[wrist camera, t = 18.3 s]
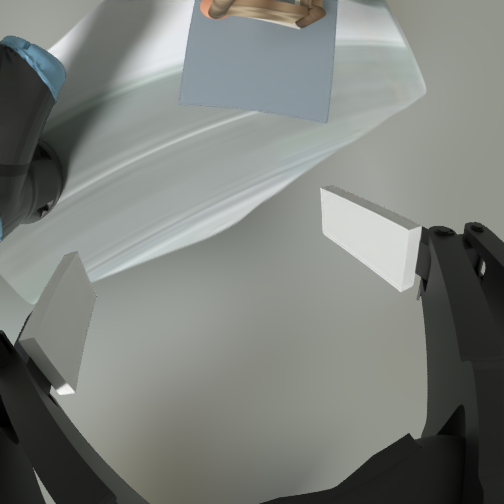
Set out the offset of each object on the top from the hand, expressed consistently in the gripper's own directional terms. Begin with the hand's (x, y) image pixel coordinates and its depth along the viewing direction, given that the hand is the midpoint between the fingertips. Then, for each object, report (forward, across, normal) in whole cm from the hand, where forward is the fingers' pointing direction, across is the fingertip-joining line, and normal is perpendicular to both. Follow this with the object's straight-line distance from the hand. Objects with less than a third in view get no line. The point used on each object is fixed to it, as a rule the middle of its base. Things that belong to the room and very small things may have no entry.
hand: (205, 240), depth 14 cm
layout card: (+37, +21, +24) cm, 49 cm away
